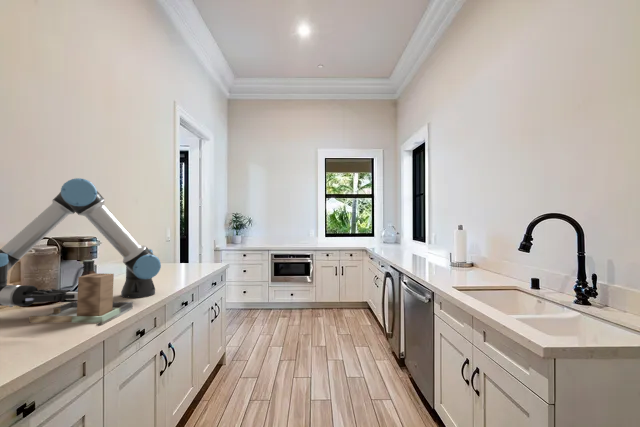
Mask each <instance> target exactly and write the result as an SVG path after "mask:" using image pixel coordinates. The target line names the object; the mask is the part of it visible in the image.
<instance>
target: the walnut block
mask: <svg viewBox="0 0 640 427" xmlns="http://www.w3.org/2000/svg"><path fill="white" fill-rule="evenodd" d="M95 273H96V272H95ZM95 273H93V274H89V275H85V276H81V275H80V276H78V277H77V278H78V280H77V281H78V284H77V292H78V300H76V302H77V316H102V315H104V314H106V313H108V312H111V311H112V305H113V302H114V301H113V300H114V275H115V274H114V273H96V274H95Z"/></svg>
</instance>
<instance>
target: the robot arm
mask: <svg viewBox="0 0 640 427" xmlns="http://www.w3.org/2000/svg"><path fill="white" fill-rule="evenodd" d="M75 213H76V214H77V215H78V216H84V217H85V218H86V219H87V220H88V221H89V222H90V223H91V225H93V226H94V227H95V229H96V230H97V231H98V232H99V233H100V234H101V235H102V236H103V237H104V238H105V239H106V240H107V242H109V244H111V245H112V247H113V248H114V249H115V250H116V251H117V252H118V253H119V254H120V255H121V256H122V257H123V259H122V263H123V264H124V265H125V267H126V268H125V281H124V284H123V286H122V288H121V292H120V297H122V298H126V299H136V298H137V299H138V298H145V297H151V296H153V295H156V288H155V287H156V286H155V284H154V282H153V278H155V277H156V276H157V275H158V274H159V272H160V270H161V268H162V265H161V264H162V263H161V260H160V259H159V256H157V255H155V254H154V252H153V249H151V248H148V247H147V246H146V245H141V244H140V243H139V242H138V240H136V239H135V237H133V235H132V234H131V233H130V232H129V231H128V230H127V229H126V227H125V226H124V225H123V224H122V223H121V222H120V221H119V220H118V218H117V217H116V216H115V214H114V213H112V212H111V211H110V209H109V208H108V207H107V206H106V205H105V198H104V197H103V195H102V194H100V192H99V191H98V190H97V187H96V186H95V185H94V183H93V182H91V181H90V180H88V179H85V178H80V177H79V178H78V177H75V178H72V179H69V180H67V181H66V182H64V183H63V185H62V186H61V188H60V192H59V193H58V194H57V195H56V196H55V197H54V198H53V199H52V200H51V204H50V205H49V206H48V207H46V208H45V209H44V210H43V211H42V212H41V213H40V214H39V215H38V216H37V217H35V218H34V219H33V220H32V221H31V222H30V223H29V224H27V225H26V226H25V227H24V228H23V229H21V230H20V231H19V232H18V233H17V234H16V235H14V237H13V238H12V239H10V240H9V241H7V243H6V244H4V245H3V246H2V248H0V306H1V307H3V306H4V307H5V306H8V307H9V308H13V306H14V307H15V306H17V307H28V306H31V305H33V304H34V303H49V302H50V303H53V302H57V303H58V302H59V301H60V302H61V303H65V300H66V301H77V300H78V291H72V290H71V289H56V288H51V289H42V288H41V289H38V288H37V287H36V286H35V285H30V284H29V285H24V284H23V285H22V284H21V285H19V284H15V285H14V284H11V285H10V284H8V272H9V270H11V268H13V267H14V265H16V264H17V263H18V262H19V261H20V260H21V259H22V258H23V257H24V256H25V255H26V254H28V253H29V252H30V251H31V250H32V249H33V248H34V247H35V246H36V245H38V243H39V242H40V241H41V240H43V239H44V238H45V237H46V236H47V235H48V234H49V233H51V231H53V230H54V229H55V228H56V227H57V226H58V225H59V224H60V223H61V222H62V221H64V219H66V218H67V217H68V216H69V215H74V214H75Z"/></svg>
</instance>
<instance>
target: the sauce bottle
mask: <svg viewBox="0 0 640 427" xmlns="http://www.w3.org/2000/svg"><path fill="white" fill-rule="evenodd" d="M82 262H83V263H82V264H83V270H82V274H81V275H80V277H81V276H85V275H89V274H93V273H95V274H97V273H96V271H95V268H94V267H95V259H86V260H82Z"/></svg>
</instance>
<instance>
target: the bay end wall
mask: <svg viewBox="0 0 640 427" xmlns="http://www.w3.org/2000/svg"><path fill="white" fill-rule="evenodd" d="M117 314H119V309H115V310H113V311H111V312H108V313H106V314H104V315H102V316H104V321H106V320H108V319H110V318H112V317H113V316H115V315H117Z"/></svg>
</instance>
